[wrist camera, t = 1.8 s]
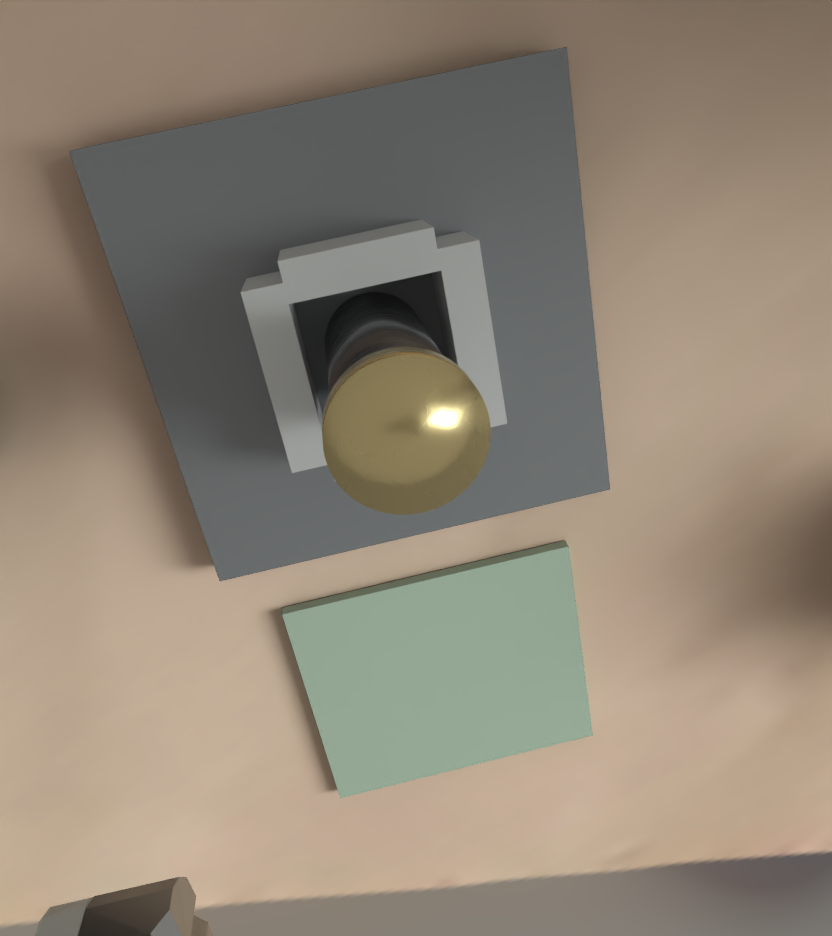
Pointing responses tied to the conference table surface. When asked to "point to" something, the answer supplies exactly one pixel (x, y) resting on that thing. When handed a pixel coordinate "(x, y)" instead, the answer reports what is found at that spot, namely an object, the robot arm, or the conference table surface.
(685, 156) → the conference table surface
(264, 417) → the grey flat square block
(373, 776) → the rubber mat
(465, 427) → the black and gold cylinder
